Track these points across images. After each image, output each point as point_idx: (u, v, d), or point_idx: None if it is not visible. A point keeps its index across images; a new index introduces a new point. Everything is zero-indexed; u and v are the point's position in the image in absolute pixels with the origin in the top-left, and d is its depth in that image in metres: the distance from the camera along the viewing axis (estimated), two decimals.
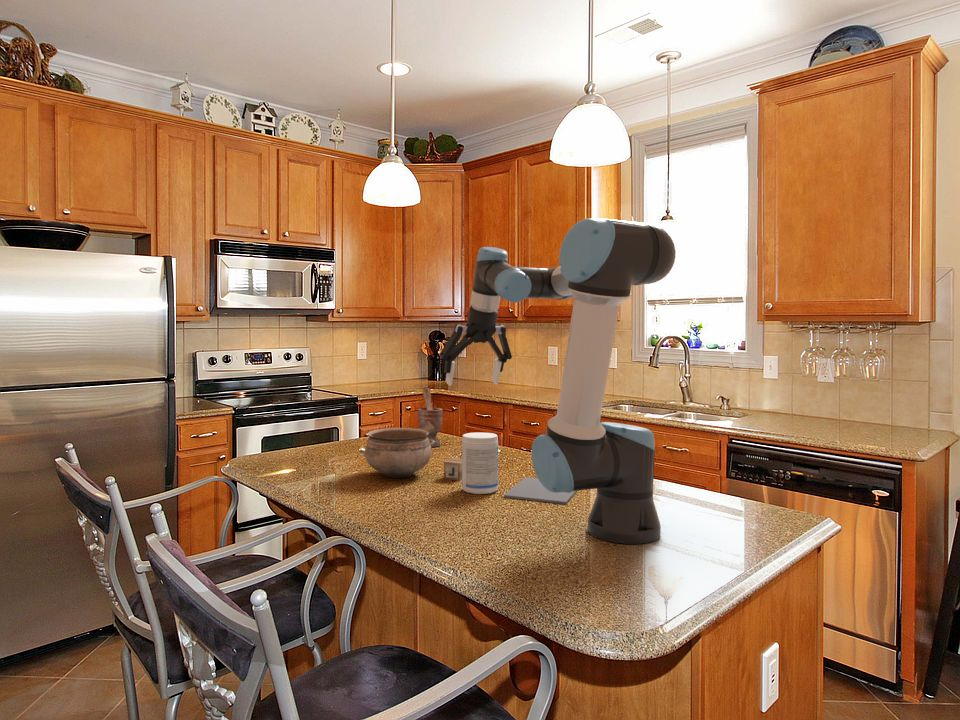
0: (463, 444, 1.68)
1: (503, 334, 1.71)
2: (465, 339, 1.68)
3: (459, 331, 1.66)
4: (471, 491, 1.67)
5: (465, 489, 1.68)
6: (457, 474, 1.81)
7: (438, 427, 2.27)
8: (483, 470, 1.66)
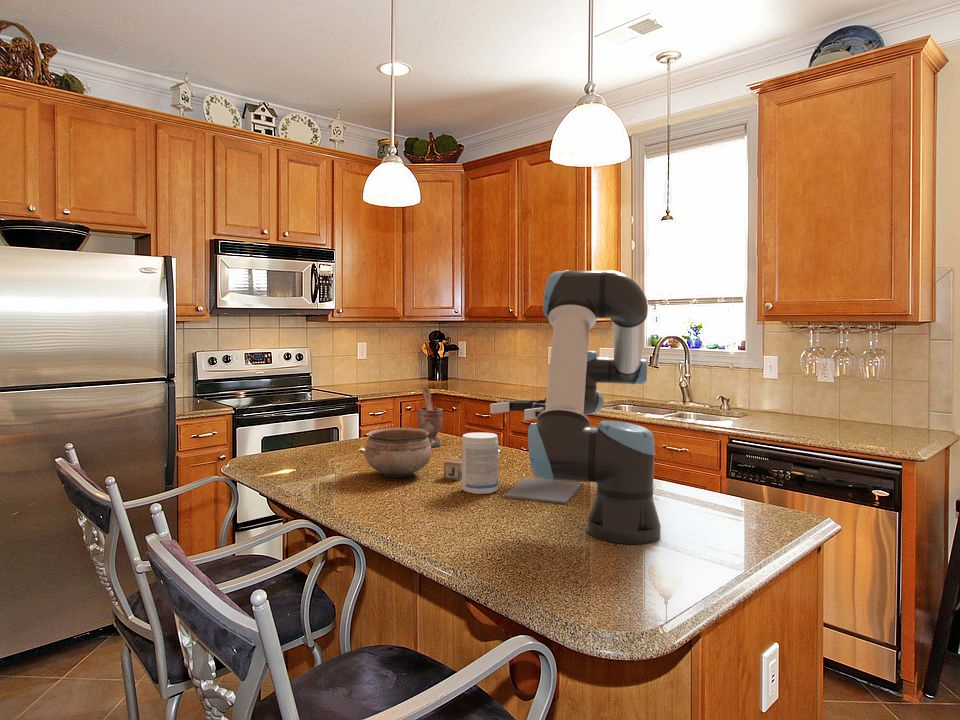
0: (463, 444, 1.68)
1: None
2: None
3: (530, 400, 1.90)
4: (471, 491, 1.67)
5: (465, 489, 1.68)
6: (457, 474, 1.81)
7: (438, 427, 2.27)
8: (483, 470, 1.66)
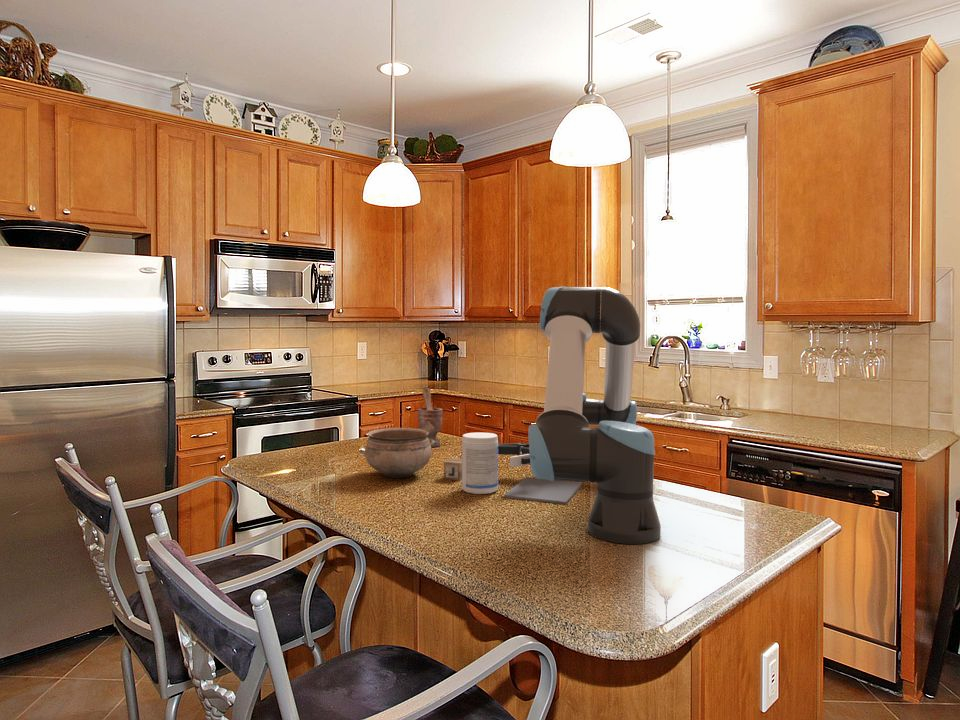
0: (463, 444, 1.68)
1: None
2: None
3: (518, 443, 1.89)
4: (471, 491, 1.67)
5: (465, 489, 1.68)
6: (457, 474, 1.81)
7: (438, 427, 2.27)
8: (483, 470, 1.66)
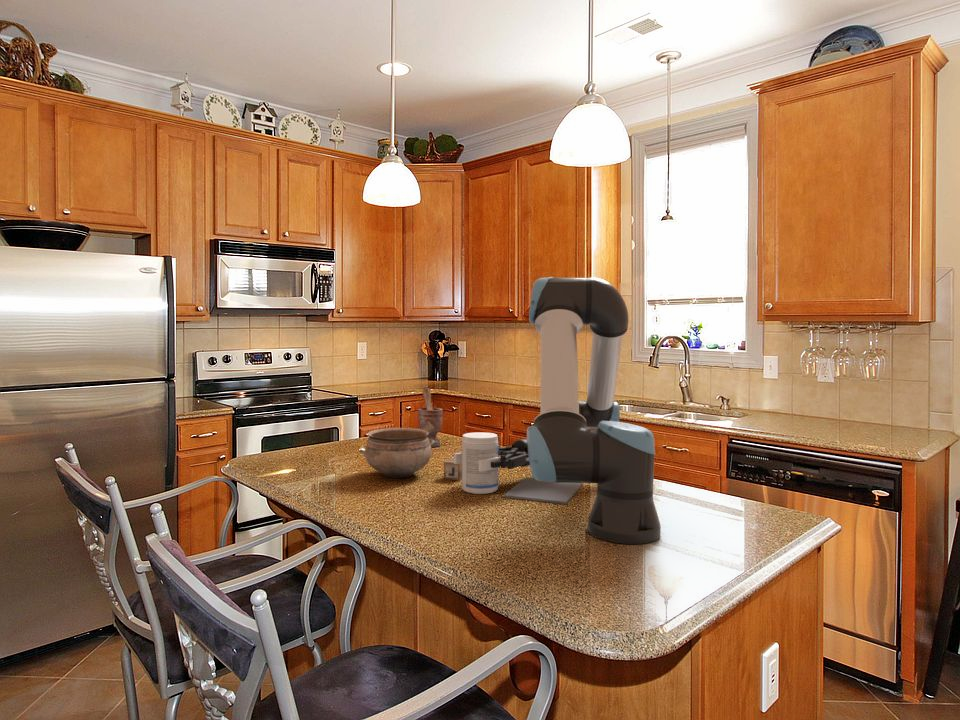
0: (463, 444, 1.68)
1: (525, 454, 1.72)
2: None
3: None
4: (471, 491, 1.67)
5: (465, 489, 1.68)
6: (457, 474, 1.81)
7: (438, 427, 2.27)
8: None
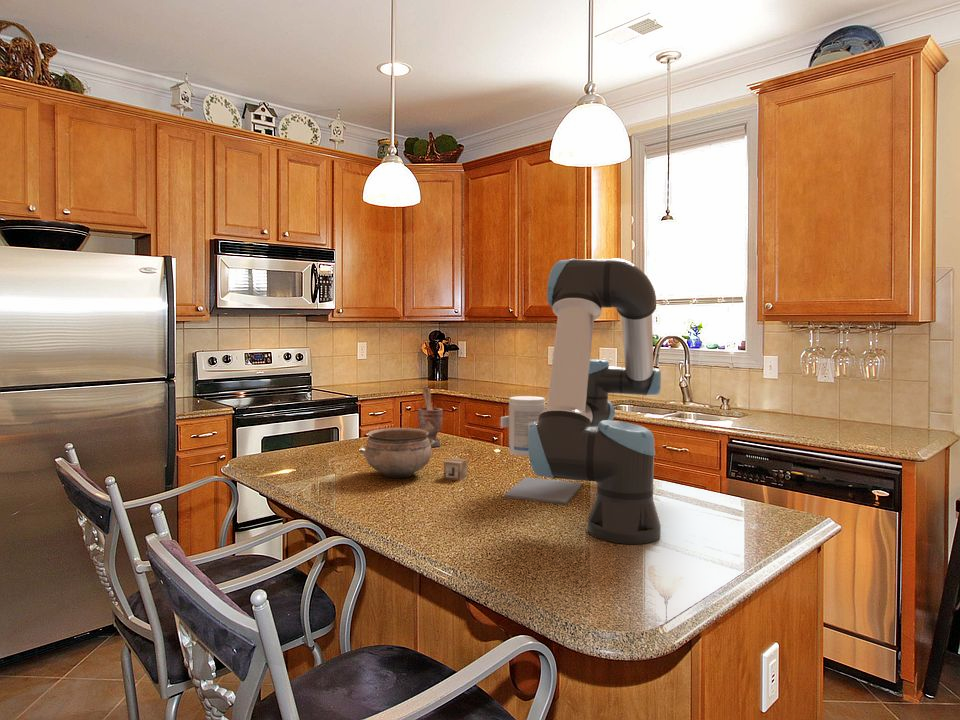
0: (511, 407, 1.68)
1: None
2: None
3: None
4: (519, 454, 1.66)
5: (513, 452, 1.67)
6: (457, 474, 1.81)
7: (438, 427, 2.27)
8: None
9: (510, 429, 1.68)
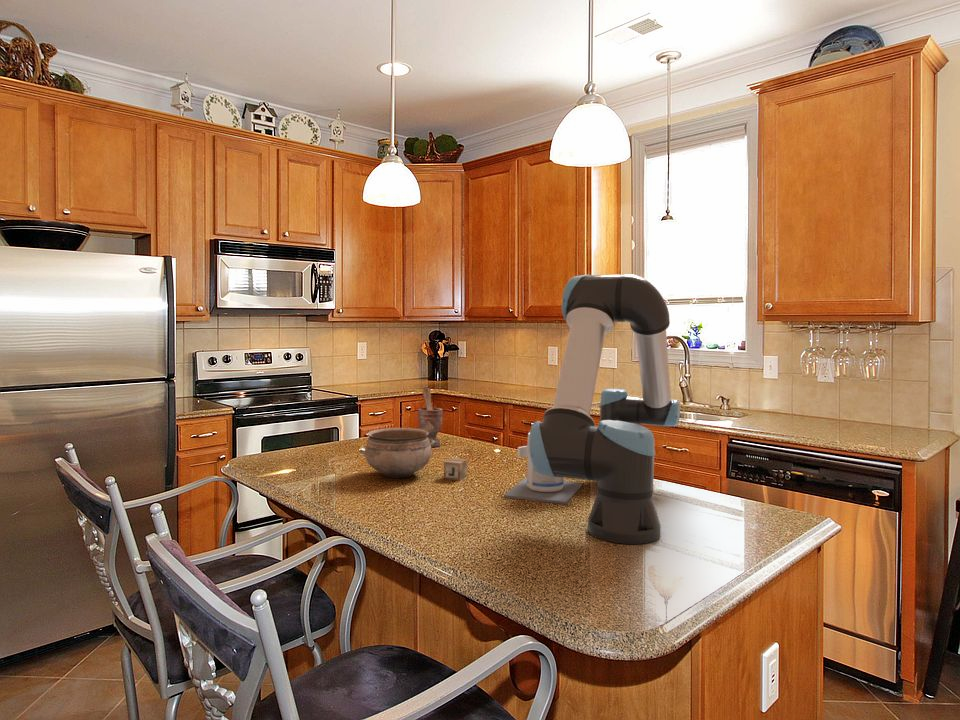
0: None
1: None
2: None
3: None
4: (538, 489, 1.67)
5: (531, 487, 1.68)
6: (457, 474, 1.81)
7: (438, 427, 2.27)
8: None
9: (528, 465, 1.69)
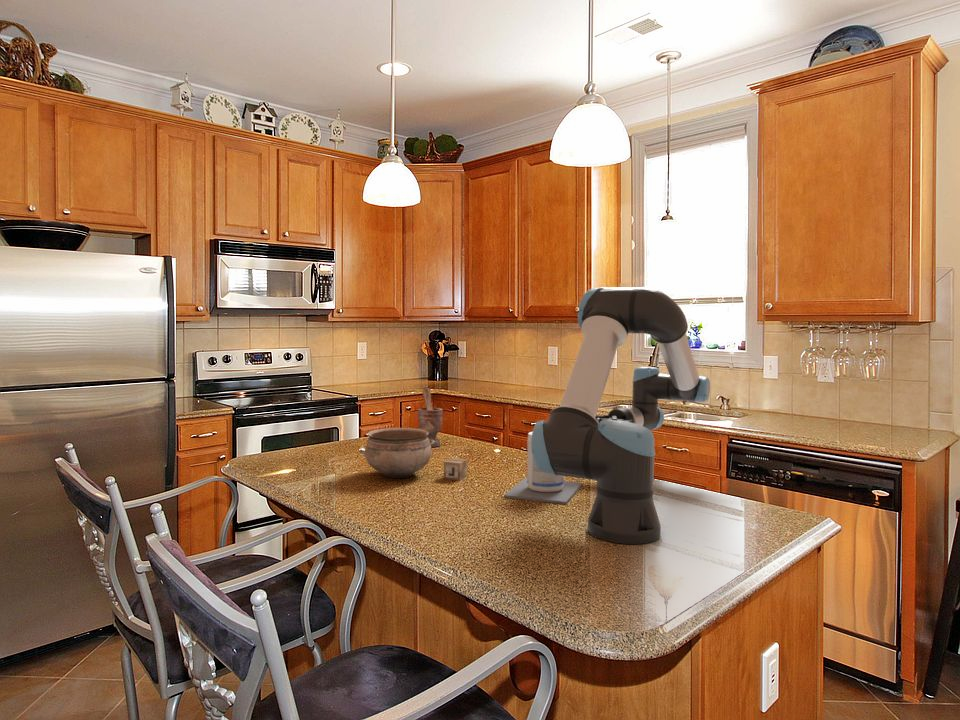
0: (529, 442, 1.68)
1: (627, 421, 1.81)
2: None
3: None
4: (538, 489, 1.67)
5: (531, 487, 1.68)
6: (457, 474, 1.81)
7: (438, 427, 2.27)
8: None
9: (528, 465, 1.69)
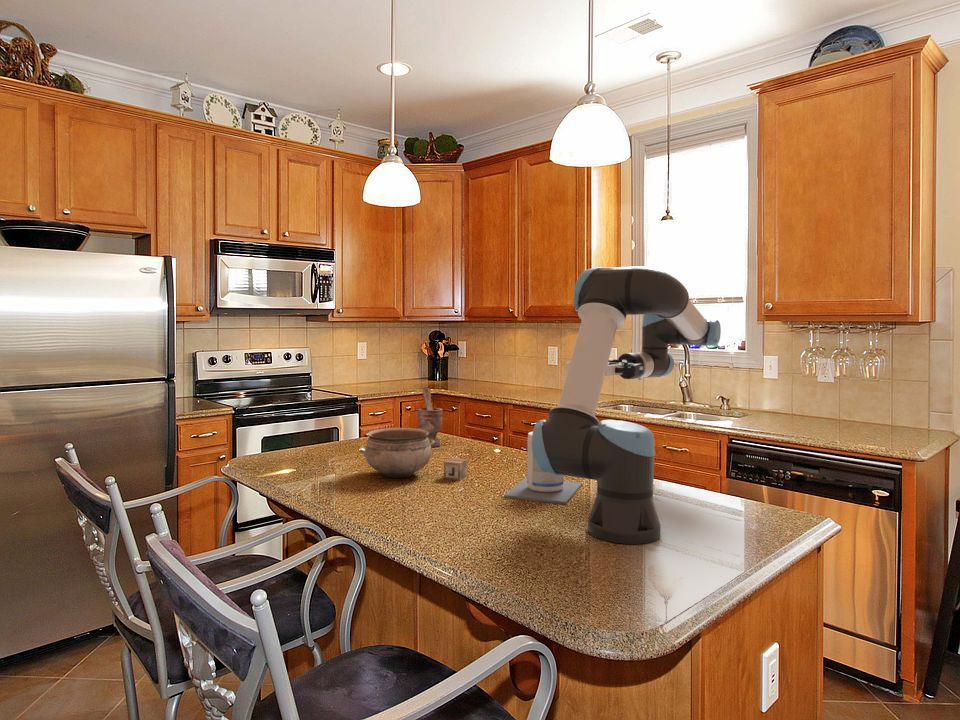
0: (529, 442, 1.68)
1: (638, 363, 1.79)
2: None
3: None
4: (538, 489, 1.67)
5: (531, 487, 1.68)
6: (457, 474, 1.81)
7: (438, 427, 2.27)
8: None
9: (528, 465, 1.69)
